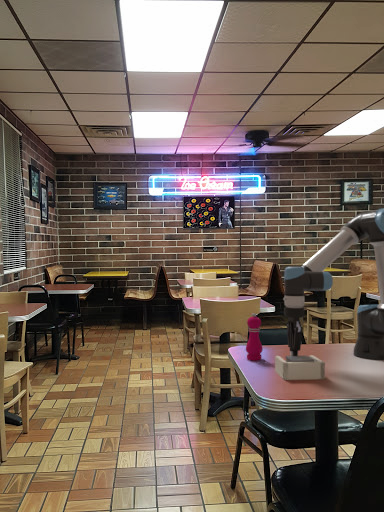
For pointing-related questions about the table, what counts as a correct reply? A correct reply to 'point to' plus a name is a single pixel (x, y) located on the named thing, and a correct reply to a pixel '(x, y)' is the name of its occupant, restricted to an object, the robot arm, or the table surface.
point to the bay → (300, 369)
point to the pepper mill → (254, 339)
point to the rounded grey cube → (298, 359)
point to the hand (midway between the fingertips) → (294, 367)
